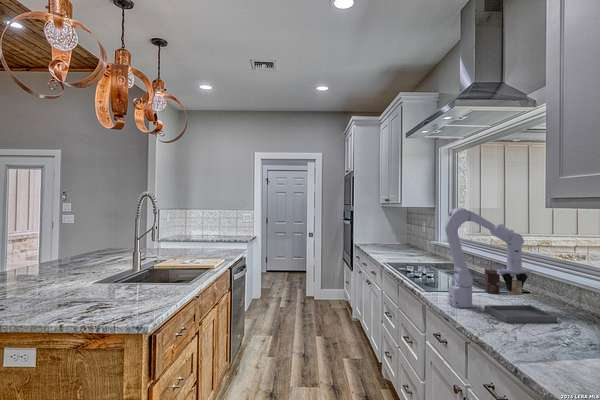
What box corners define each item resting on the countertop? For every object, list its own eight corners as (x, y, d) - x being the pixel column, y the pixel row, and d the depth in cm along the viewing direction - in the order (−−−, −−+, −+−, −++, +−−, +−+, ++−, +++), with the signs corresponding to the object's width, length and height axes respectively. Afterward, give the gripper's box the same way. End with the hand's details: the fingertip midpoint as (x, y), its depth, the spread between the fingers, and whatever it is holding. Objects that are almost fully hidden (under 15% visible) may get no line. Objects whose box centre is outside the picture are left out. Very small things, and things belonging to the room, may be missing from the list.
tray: (505, 323, 142) (505, 316, 142) (484, 311, 158) (484, 305, 158) (557, 322, 142) (557, 316, 142) (530, 310, 158) (530, 305, 158)
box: (488, 293, 189) (488, 270, 189) (484, 291, 194) (484, 268, 194) (500, 293, 189) (500, 270, 189) (496, 291, 193) (496, 268, 194)
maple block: (512, 295, 161) (512, 281, 161) (507, 292, 165) (507, 279, 165) (521, 295, 161) (521, 281, 161) (516, 292, 165) (516, 279, 165)
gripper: (503, 261, 160) (503, 292, 159) (536, 261, 160) (536, 292, 159) (494, 258, 167) (494, 289, 166) (526, 258, 167) (526, 289, 167)
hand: (514, 290), depth 163 cm, fingers closed on maple block, 4 cm apart
